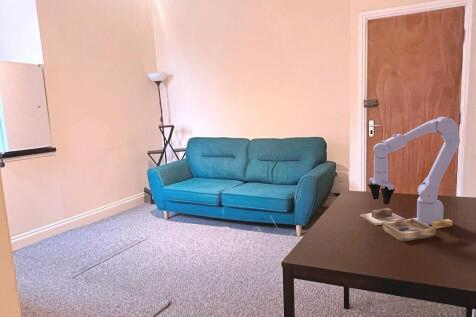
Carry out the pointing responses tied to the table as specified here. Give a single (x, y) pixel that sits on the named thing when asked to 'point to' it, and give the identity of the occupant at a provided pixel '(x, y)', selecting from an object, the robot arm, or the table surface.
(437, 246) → the table surface
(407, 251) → the table surface
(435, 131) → the robot arm
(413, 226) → the wooden tray
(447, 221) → the light wooden bar
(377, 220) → the lid
